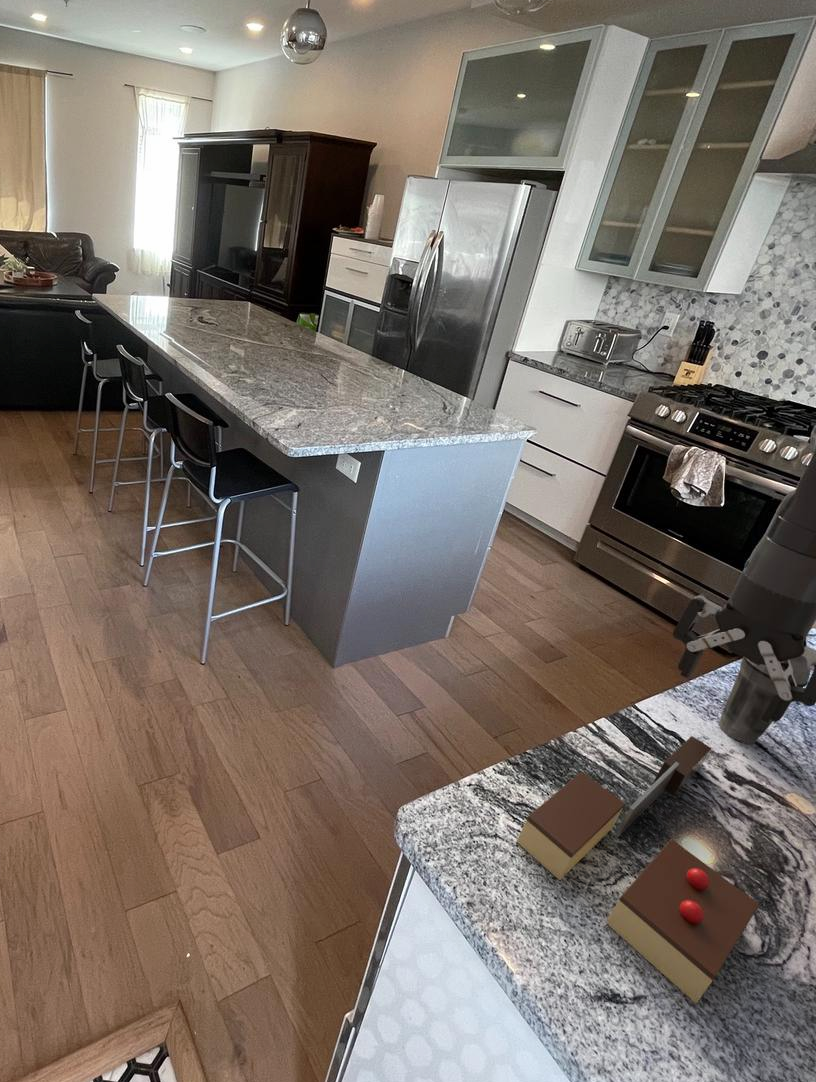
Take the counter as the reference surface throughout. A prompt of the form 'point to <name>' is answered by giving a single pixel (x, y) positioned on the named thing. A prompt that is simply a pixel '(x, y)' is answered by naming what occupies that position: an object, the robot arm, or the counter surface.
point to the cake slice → (570, 824)
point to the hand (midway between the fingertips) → (724, 696)
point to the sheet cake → (682, 918)
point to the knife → (669, 778)
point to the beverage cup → (754, 699)
